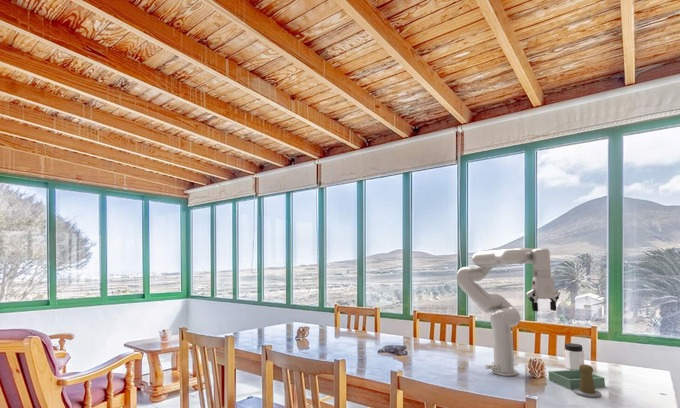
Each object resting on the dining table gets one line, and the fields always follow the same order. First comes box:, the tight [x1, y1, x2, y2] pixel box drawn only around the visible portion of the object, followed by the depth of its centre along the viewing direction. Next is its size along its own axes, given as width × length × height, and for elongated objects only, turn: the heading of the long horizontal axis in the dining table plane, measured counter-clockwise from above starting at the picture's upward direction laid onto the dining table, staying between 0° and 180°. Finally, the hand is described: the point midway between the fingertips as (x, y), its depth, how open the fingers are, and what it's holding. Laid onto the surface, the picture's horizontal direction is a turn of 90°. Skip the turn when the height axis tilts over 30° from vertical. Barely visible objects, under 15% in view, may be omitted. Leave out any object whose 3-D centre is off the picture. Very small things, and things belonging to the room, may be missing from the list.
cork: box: [579, 363, 596, 394], centre depth 179 cm, size 6×6×11 cm
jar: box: [563, 342, 585, 370], centre depth 218 cm, size 9×8×12 cm
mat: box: [573, 388, 602, 399], centre depth 178 cm, size 10×10×1 cm
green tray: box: [548, 369, 606, 390], centre depth 192 cm, size 18×14×4 cm
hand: (544, 310), depth 196 cm, fingers open, 9 cm apart
